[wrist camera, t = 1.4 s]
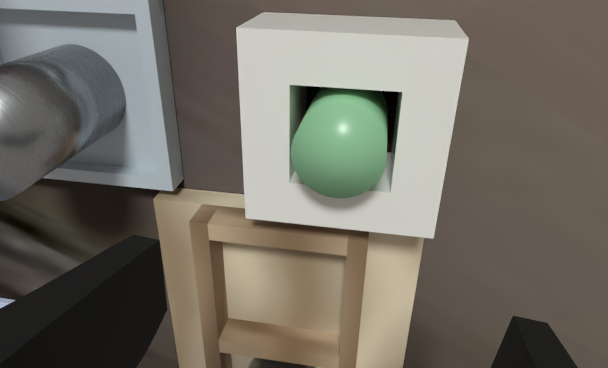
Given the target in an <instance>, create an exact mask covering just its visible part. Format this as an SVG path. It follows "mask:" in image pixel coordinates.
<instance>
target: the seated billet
mask: <svg viewBox="0 0 608 368" xmlns="http://www.w3.org/2000/svg"><path fill="white" fill-rule="evenodd" d="M248 368H316V367H315V366H308V365H301V364H295V363H288V362H282V361H275V360H268V359H262V358H255V357H254V358H253V359H252V360H251V362H250V364H249V367H248Z"/></svg>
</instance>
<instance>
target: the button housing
mask: <svg viewBox="0 0 608 368" xmlns="http://www.w3.org/2000/svg"><path fill="white" fill-rule="evenodd" d="M236 33H237V53H238V74H239V94H240V114H241V135H242V155H243V175H244V196H245V216H246V218H247V219H256V220H266V221H275V222H284V223H293V224H303V225H312V226H321V227H331V228H340V229H349V230H358V231H368V232H377V233H386V234H396V235H405V236H414V237H423V238H434V232H435V227H436V221H437V215H438V210H439V204H440V199H441V193H442V187H443V182H444V176H445V170H446V165H447V159H448V153H449V148H450V142H451V136H452V131H453V125H454V119H455V114H456V108H457V102H458V97H459V91H460V86H461V80H462V74H463V69H464V63H465V57H466V52H467V46H468V40H469V39H468V37H467V36H466V34H465V33H464V32H463V30H462V29H461V28H460V26H459V25H458V24H457V22H456V21H455V20H434V19H411V18H387V17H364V16H341V15H317V14H294V13H271V12H263V13H261V14H260V15H258V16H256V17H254V18H253V19H251V20H249V21H247V22H245V23H244V24H242V25H240V26H238V27H237V28H236ZM307 86H316V87H332V88H347V89H362V90H378V91H393V92H398V98H397V106H396V115H395V124H394V133H393V141H392V150H391V153H390V152H387V161H386V166H385V169H384V172H383V174H382V176H381V178H380V179H379V180H378V182H377V183H376V184H375V185H374V186H373V187H372V188H370V189H369V190H368V191H366V192H364V193H362V194H360V195H357V196H354V197H350V198H332V197H327V196H324V195H321V194H319V193H317V192H315V191H313V190H312V189H310V188H309V187H308V186H307V185H305V184H304V183H303V182H302V180H301V179H300V178H299V176H298V175H297V173H296V171H295V169H294V167H293V164H292V159H291V146H292V141H293V138H294V136H295V134H296V132H297V130H298V128H299V126H300V124H301V122H302V120H303V118H304V116H305V114H306V97H307Z"/></svg>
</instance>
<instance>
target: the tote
mask: <svg viewBox="0 0 608 368" xmlns="http://www.w3.org/2000/svg"><path fill="white" fill-rule="evenodd" d="M64 44H75V45H80V46H84V47H86V48H89V49H91V50H93V51H95V52H96V53H98V54H99V55H100V56H102V57H103V58H104V59H105V60H106V61H107V62H108V63H109V64H110V65H111V66H112V67H113V69H114V70H115V71H116V73H117V75H118V76H119V78H120V80H121V82H122V85H123V88H124V92H125V97H126V108H125V113H124V116H123V118H122V120H121V122H120V123H119V125H118V126H117V127H116V128H115V129H113V130H112V131H111V132H109V133H108V134H106V135H105V136H103V137H102V138H100V139H99V140H97V141H96V142H94V143H93V144H91V145H90V146H88V147H87V148H86V149H84V150H83V151H81V152H80V153H78V154H77V155H75V156H74V157H72V158H71V159H69V160H68V161H66V162H65V163H64V164H62V165H61V166H59V167H58V168H56V169H55V170H53V171H52V172H50V173H49V174H47V175H46V176H44V177H43V178H47V179H57V180H67V181H77V182H86V183H96V184H106V185H116V186H126V187H136V188H145V189H155V190H165V191H174V190H175V188H176V187H177V186H178V185H179V184H180V183H181V182H182V180H183V179H184V178H183V169H182V160H181V152H180V143H179V135H178V126H177V118H176V109H175V101H174V92H173V83H172V75H171V66H170V58H169V49H168V41H167V32H166V24H165V15H164V6H163V0H0V64H3V63H6V62H10V61H13V60H16V59H19V58H22V57H25V56H28V55H31V54H35V53H38V52H41V51H44V50H47V49H50V48H53V47H56V46H60V45H64Z"/></svg>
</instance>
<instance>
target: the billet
mask: <svg viewBox="0 0 608 368" xmlns="http://www.w3.org/2000/svg"><path fill="white" fill-rule="evenodd" d="M125 108H126V97H125V92H124V88H123V85H122V82H121V80H120V78H119V76H118V75H117V73H116V71H115V70H114V69H113V67H112V66H111V65H110V64H109V63H108V62H107V61H106V60H105V59H104V58H103V57H102V56H100V55H99V54H98V53H96V52H95V51H93V50H91V49H89V48H86V47H84V46H80V45H75V44H64V45H60V46H56V47H53V48H50V49H47V50H44V51H41V52H38V53H35V54H31V55H28V56H25V57H22V58H19V59H16V60H13V61H10V62H6V63H3V64H0V201H3V200H8V199H11V198H13V197H15V196H16V195H18V194H19V193H21V192H22V191H24V190H25V189H27V188H28V187H30V186H31V185H33V184H34V183H36V182H37V181H39V180H40V179H41V178H43V177H44V176H46V175H47V174H49V173H50V172H52V171H53V170H55V169H56V168H58V167H59V166H61V165H62V164H64V163H65V162H66V161H68V160H69V159H71V158H72V157H74V156H75V155H77V154H78V153H80V152H81V151H83V150H84V149H86V148H87V147H88V146H90V145H91V144H93V143H94V142H96V141H97V140H99V139H100V138H102V137H103V136H105V135H106V134H108V133H109V132H111V131H112V130H113V129H115V128H116V127H117V126H118V125H119V123H120V122H121V120H122V118H123V116H124V113H125Z"/></svg>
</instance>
